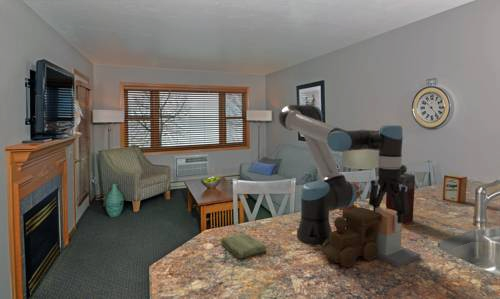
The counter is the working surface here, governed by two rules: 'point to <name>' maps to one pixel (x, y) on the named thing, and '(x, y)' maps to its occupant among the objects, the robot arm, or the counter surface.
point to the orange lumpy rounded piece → (356, 198)
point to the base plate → (399, 257)
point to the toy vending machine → (410, 182)
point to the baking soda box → (454, 188)
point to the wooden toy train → (353, 236)
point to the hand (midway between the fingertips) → (387, 227)
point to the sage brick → (389, 242)
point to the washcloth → (243, 245)
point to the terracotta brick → (387, 222)
